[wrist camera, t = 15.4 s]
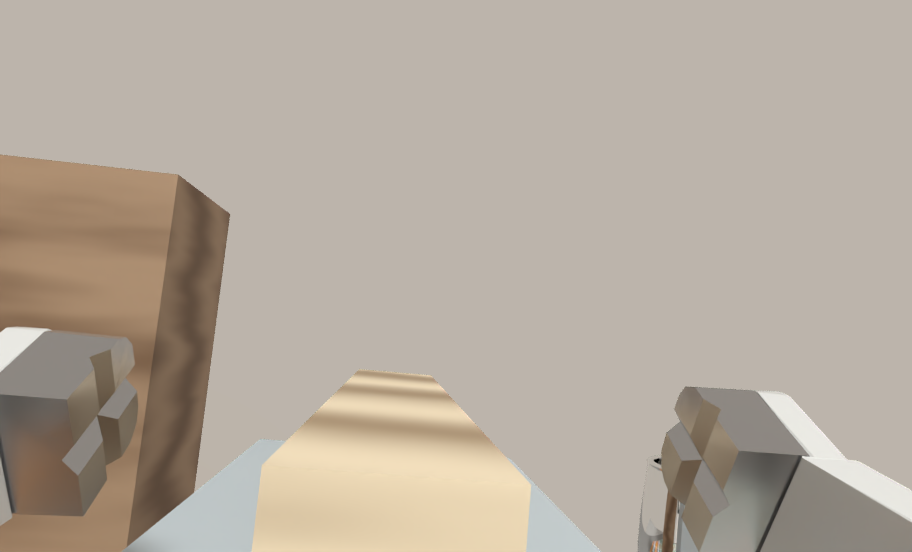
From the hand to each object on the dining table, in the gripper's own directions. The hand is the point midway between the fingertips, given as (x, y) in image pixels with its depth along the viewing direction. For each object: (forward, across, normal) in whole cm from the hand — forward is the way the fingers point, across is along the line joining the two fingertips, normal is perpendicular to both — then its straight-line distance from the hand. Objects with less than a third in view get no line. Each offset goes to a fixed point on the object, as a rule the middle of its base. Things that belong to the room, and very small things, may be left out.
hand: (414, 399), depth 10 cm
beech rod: (+5, 0, +7) cm, 8 cm away
